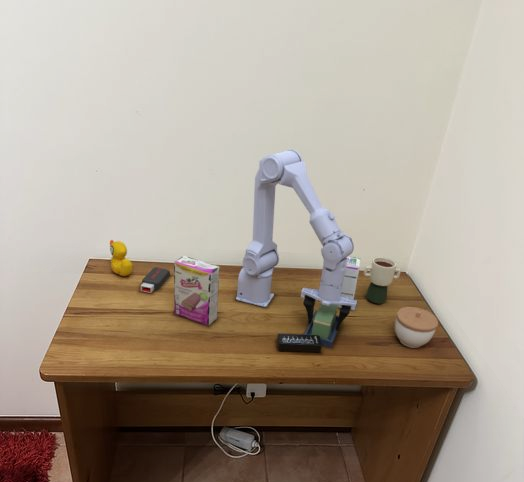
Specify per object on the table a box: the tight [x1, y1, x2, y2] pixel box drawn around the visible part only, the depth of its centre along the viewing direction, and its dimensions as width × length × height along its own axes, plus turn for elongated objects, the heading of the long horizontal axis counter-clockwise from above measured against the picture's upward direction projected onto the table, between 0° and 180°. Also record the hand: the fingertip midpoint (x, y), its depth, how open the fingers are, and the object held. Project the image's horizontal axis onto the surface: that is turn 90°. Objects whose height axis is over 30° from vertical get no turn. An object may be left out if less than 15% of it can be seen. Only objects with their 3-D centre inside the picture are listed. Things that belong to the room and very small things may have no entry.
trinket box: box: [394, 306, 439, 349], centre depth 131 cm, size 11×11×9 cm
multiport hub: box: [276, 333, 323, 353], centre depth 126 cm, size 4×11×2 cm, turn 92°
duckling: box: [109, 239, 134, 277], centre depth 149 cm, size 11×5×10 cm, turn 39°
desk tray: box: [303, 309, 339, 349], centre depth 133 cm, size 8×13×2 cm, turn 161°
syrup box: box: [338, 255, 361, 309], centre depth 143 cm, size 6×6×14 cm
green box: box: [311, 302, 339, 339], centre depth 132 cm, size 10×4×6 cm, turn 161°
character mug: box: [362, 256, 402, 304], centre depth 147 cm, size 11×7×13 cm, turn 90°
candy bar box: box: [173, 255, 220, 327], centre depth 130 cm, size 11×5×16 cm, turn 65°
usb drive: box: [139, 266, 171, 294], centre depth 147 cm, size 5×12×3 cm, turn 167°
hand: (323, 324), depth 133 cm, fingers open, 7 cm apart
